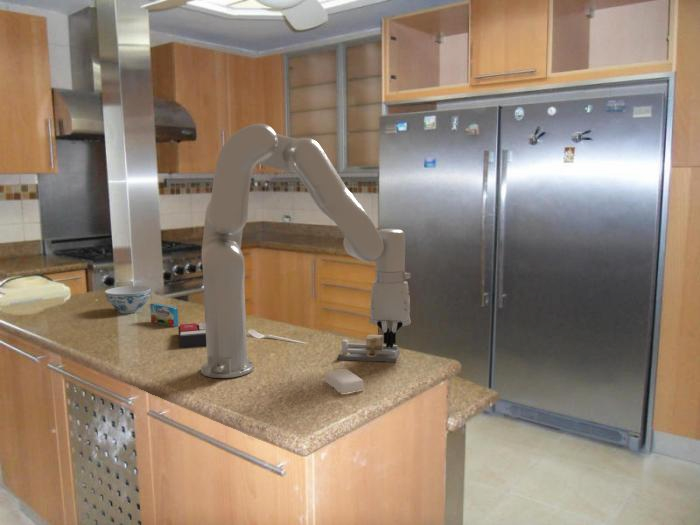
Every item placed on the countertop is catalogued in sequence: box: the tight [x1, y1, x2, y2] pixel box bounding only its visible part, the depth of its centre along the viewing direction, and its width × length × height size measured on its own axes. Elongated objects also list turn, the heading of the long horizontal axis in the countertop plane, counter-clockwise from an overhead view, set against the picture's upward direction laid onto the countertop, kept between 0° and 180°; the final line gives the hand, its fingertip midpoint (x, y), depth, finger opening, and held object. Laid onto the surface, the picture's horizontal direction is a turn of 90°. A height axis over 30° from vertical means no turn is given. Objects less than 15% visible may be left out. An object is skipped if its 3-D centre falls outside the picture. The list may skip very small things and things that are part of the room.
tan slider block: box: [365, 334, 384, 354], centre depth 152 cm, size 7×4×4 cm, turn 170°
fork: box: [247, 328, 307, 344], centre depth 169 cm, size 3×20×2 cm, turn 62°
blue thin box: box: [149, 302, 179, 328], centre depth 187 cm, size 12×2×6 cm, turn 54°
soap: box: [325, 368, 364, 394], centre depth 130 cm, size 9×6×3 cm, turn 26°
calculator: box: [177, 322, 206, 349], centre depth 169 cm, size 11×4×15 cm
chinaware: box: [104, 285, 152, 314], centre depth 205 cm, size 15×15×8 cm
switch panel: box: [337, 339, 400, 363], centre depth 152 cm, size 9×15×4 cm, turn 80°
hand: (389, 346), depth 153 cm, fingers closed
